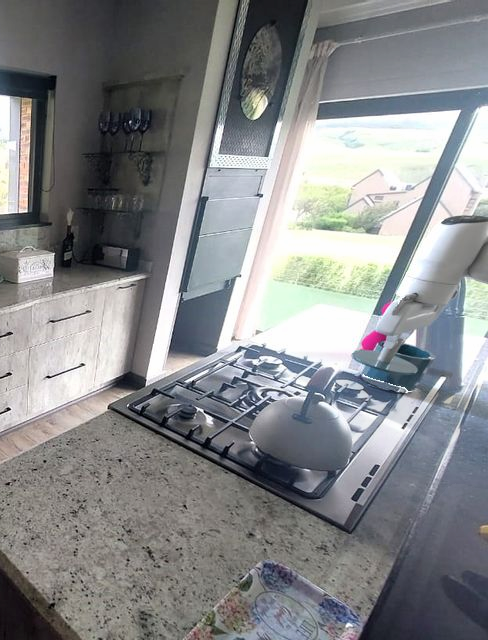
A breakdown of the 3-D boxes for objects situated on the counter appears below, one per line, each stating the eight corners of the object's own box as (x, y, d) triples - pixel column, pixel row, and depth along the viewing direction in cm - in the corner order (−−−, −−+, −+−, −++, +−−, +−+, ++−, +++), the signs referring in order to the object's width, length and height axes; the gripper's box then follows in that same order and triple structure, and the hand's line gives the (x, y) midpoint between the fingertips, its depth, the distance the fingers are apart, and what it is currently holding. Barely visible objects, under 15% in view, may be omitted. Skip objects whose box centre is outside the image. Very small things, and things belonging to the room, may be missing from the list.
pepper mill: (381, 364, 125) (417, 302, 115) (352, 356, 130) (384, 296, 120) (386, 358, 129) (421, 298, 119) (358, 350, 134) (389, 292, 124)
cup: (421, 388, 112) (443, 354, 107) (400, 397, 108) (422, 362, 102) (372, 370, 121) (390, 338, 116) (351, 377, 117) (369, 344, 111)
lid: (425, 371, 99) (443, 343, 95) (399, 381, 94) (418, 351, 90) (365, 350, 109) (380, 324, 105) (339, 358, 104) (354, 330, 100)
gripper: (420, 300, 85) (386, 358, 92) (462, 291, 93) (428, 345, 100) (385, 291, 90) (355, 347, 97) (427, 283, 98) (397, 335, 105)
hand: (392, 346), depth 99 cm, fingers closed on lid, 2 cm apart
